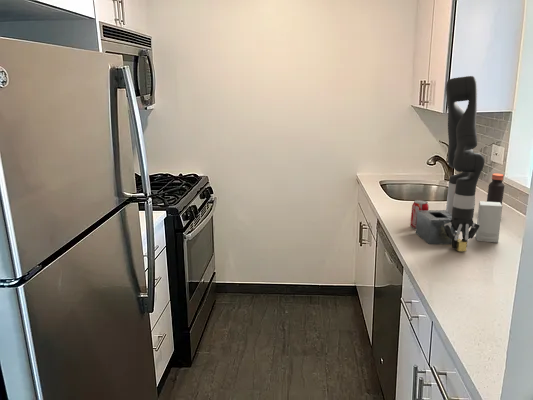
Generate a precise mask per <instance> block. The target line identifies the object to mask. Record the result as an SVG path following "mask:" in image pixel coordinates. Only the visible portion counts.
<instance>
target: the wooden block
mask: <svg viewBox="0 0 533 400" xmlns="http://www.w3.org/2000/svg"><path fill="white" fill-rule="evenodd" d="M457 240H458V241H457V248H456V249H454V250H455V251H458V252H467V247H468V241H467V242H465V241H463V240H462V238H458V239H457ZM466 246H467V247H466ZM451 248H452V249H453V247H452V246H451Z"/></svg>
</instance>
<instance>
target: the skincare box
mask: <svg viewBox="0 0 533 400" xmlns="http://www.w3.org/2000/svg"><path fill="white" fill-rule="evenodd" d="M477 211H478V212H477V221H476V223H477V224H478V225H479V226H480V227H479V228H478V230H477V232H476V233H475V239H476V241H477V242H486V243H487V242H488V243H499V239H500V231H501V222H502V221H501V220H502V212H503V204H502V205H501V203H500V202H487V201H484V200H480V201H478V209H477Z"/></svg>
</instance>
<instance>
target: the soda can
mask: <svg viewBox="0 0 533 400" xmlns="http://www.w3.org/2000/svg"><path fill="white" fill-rule="evenodd" d="M429 208H430V206H429V204H428V201H427V200H422V199H416V200H415V199H414V201H413V203H412V204H411V214H410V227H412V228H413V229H415V230H416V222H417V211H418V210H429Z"/></svg>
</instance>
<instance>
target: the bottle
mask: <svg viewBox="0 0 533 400" xmlns="http://www.w3.org/2000/svg"><path fill="white" fill-rule="evenodd" d="M503 181H504V174H502V173H492V174H491V182H489V184H488V187H487V189H488V190H487V195H486V202H500V203H501V205H502V206H503V199H504V191H505V184H504V183H503Z"/></svg>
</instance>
